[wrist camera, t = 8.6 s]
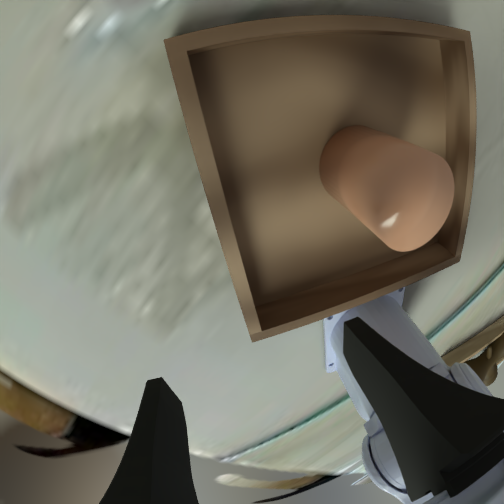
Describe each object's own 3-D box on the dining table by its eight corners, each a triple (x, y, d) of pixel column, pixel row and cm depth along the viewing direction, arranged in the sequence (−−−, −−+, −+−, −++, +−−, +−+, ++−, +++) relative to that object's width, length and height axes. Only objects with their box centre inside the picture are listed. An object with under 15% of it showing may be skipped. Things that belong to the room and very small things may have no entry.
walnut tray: (438, 243, 24) (459, 261, 21) (243, 312, 22) (252, 342, 20) (439, 30, 14) (469, 31, 11) (166, 48, 12) (163, 39, 10)
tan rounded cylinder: (387, 193, 19) (447, 236, 14) (322, 210, 18) (374, 263, 14) (386, 121, 16) (458, 147, 11) (314, 131, 16) (377, 160, 11)
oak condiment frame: (503, 348, 48) (509, 355, 46) (414, 407, 46) (420, 417, 44) (531, 293, 39) (539, 300, 36) (438, 358, 36) (447, 370, 34)
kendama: (462, 381, 48) (457, 355, 37) (494, 350, 46) (498, 313, 35) (477, 400, 43) (478, 382, 32) (509, 368, 42) (520, 337, 31)
